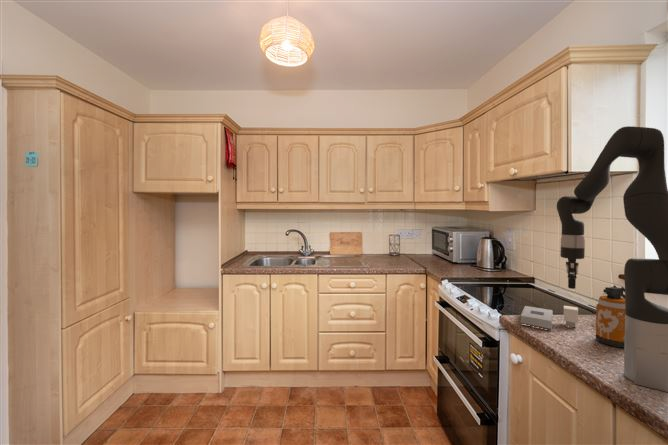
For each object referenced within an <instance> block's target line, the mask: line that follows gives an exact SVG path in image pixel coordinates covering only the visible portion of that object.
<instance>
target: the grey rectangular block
mask: <svg viewBox="0 0 668 445" xmlns="http://www.w3.org/2000/svg"><path fill="white" fill-rule="evenodd" d="M553 314H554V312H553V309H547V308H542V307H534V306H527V305H524V308H523V310H522V312H521V314H520V325H521V324H526V325H530V326H534V327H539V328H543V329H547V330H551V331H552V327H551V326H552V325H553V318H554V316H553ZM547 330H546V331H547Z"/></svg>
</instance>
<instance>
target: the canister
mask: <svg viewBox="0 0 668 445" xmlns="http://www.w3.org/2000/svg"><path fill="white" fill-rule="evenodd" d="M605 294H607V296H606V295H605ZM621 296H622V297H623V298H621ZM595 307H596V308H595V339H596V340H598V342H600V343H603V344H604V345H607V346H610V347H615V348H624V345H625V287H624V286H622V287H617V286H616V285H613V286H611V287H605V288H604V289H603V295H600V296H599V297H598V303H597V304H596V306H595Z"/></svg>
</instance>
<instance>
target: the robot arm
mask: <svg viewBox="0 0 668 445" xmlns="http://www.w3.org/2000/svg"><path fill="white" fill-rule="evenodd" d="M601 150H602V151H601V152H600V153H599V155H598V157H597V159H596V160H595V162H594V164H593V165H592V167H591V169H590V170H589V171H588V172H587V174H586V175H585V176H584V177H583V179H582V180H581V181H580V182H578V184H577V185H576V186H575V187H574V190H573V193H574V194H573V195H574V196H573V195H571V196H569V195H568V196H567V195H565V196H561V197H560V198H559V199H558V200H557V201H556V211H557V213H558V217H559V221H560V223H561V238H560V256H559V257H561V258H563V259H567V261H565V267H566V274H567V279H568V280H567V284H568V286H567V287H568V289H571V290H575V289H576V283H577V282H576V281H577V278H578V277H577V275H578V272H579V271H578V270H579V262H577V260H583V259H585V256H586V255H585V252H586V251H585V248H586V246H585V245H586V244H585V243H586V241H585V223H584V221H583V220H581V219H580V220H579V219H575V218H574V216H573V215H580V214H581V215H582V214H586V213H587V212H589V211H590V209H591V208H592V206H593V204H594V202H595V200H596V198H597V197H598V196H599V194H601V193H602V192H603V190H604V189H605V188H607V186H608V184H609V183H610V180H611V165H612V164H613V162H615V160H617V159H618V158H621V157H622V158H630V159H631V158H632V159H636V160H637V162H638V173H637V175H636V177H635V178H634V179H633V180H632V182H631V183H630V184H629V185H628V187H627V188H626V189H625V191H624V194H623V209H624V216H625V218H626V219H627V222H629V224H631V225H632V226H633V228H634V229H636V230H637V231H638V233H640V234H641V235H643V236H644V238H646V240H648V242H649V243H650V245H652V246H653V248H654V250H655V253H656V254H657V257H658V259H657V258H641V257H638V258H637V257H632V258H628V259H627V260H626V262H625V264H624V269H623V270H624V271H623V272H624V273H623V278H624V279H623V280H624V288H625V292H624V295H625V345H624V347H623V349H624V352H623V353H624V354H623V375H624V377H625V378H626V379H628V380H630V381H631V382H633V384H634V385H638V386H643V387H645V388H650V389H653V390H658V391H661V392H662V391H663V392H666V393H668V307H665V306H662V305H660V304H656V303H654V302H652V301H650V300H648V299H646V296H645V294H652V295H653V294H654V295H661V296H662V295H664V296H665V295H666V296H668V185H667V176H666V170H665V169H666V168H665V166H666V164H665V137H664V134H663V132H662V131H661V130H660V129H658V128H656V127H655V128H654V127H645V126H634V125H633V126H622V127H620V128H619V129H617V130H616V131H615V132H614V133H613V134H612V135H611V137H610V138H609V139H608V140H607V142H606V144H605V146H604V147H603V149H601Z"/></svg>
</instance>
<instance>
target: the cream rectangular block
mask: <svg viewBox="0 0 668 445" xmlns="http://www.w3.org/2000/svg"><path fill="white" fill-rule="evenodd" d="M563 321H564V322H565V327H566V326H569V327H568V328H571V327H575V328H576V323H577V324H578V323H579V308H578V307H576V306H570V305H563Z"/></svg>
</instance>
